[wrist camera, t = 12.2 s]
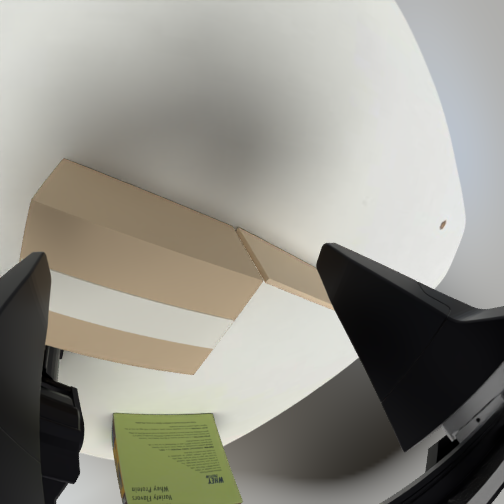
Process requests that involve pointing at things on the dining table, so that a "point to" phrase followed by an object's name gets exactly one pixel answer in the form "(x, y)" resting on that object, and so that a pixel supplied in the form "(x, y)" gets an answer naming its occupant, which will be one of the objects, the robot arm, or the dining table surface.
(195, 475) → the protein box
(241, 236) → the grey and tan blocks
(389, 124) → the dining table surface
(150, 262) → the carton
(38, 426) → the robot arm
